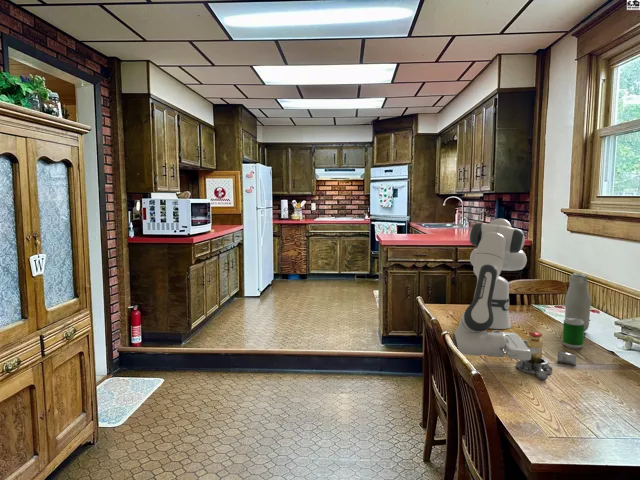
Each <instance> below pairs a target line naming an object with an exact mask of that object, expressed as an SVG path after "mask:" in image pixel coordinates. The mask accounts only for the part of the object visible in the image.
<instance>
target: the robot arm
mask: <svg viewBox="0 0 640 480" xmlns="http://www.w3.org/2000/svg"><path fill="white" fill-rule="evenodd" d="M470 228H471V229H470V230H469V234H468V239H469V243H470V244H471V245H472V246H474V247H476V248H474V249H473V250H472V251H471V253H470V256H469V262H470V264H471V266H473V268H472V269H473V271H472V272H473V274H474V275H475V276H476V279H477V281H476V287H475V291H474V295H473V299H472V302H471V303H470V304H469V305H468V306H467V308H466V309H465V310H464V312H463V313H462V315H461V317H460V321H459V324H458V326H457V328H456V329H455V331H454V332H453V333H452V343H453V346H454V345H455V346H456V347H457V349H458V350H459V351H460V352H461V353H462V354H461V353H460V354H461V355H465V356H466V355H467V356H477V357H478V356H487V357H493V358H503V357H505V356H506V357H507V358H509V359H511V360H518V361H520V360H531V354H534V353H540V352H541V349H540V348H539V347H534V348H530V347H527V341H528V339H522V338H521V337H520V336H519V334H517V333H514V332H508V331H499V330H506V329H510V328H512V324H511V321H510V320H511V319H510V314H509V311H510V310H509V309H510V296H509V295H510V293H509V291H510V285H509V282H508V280H507V279H505V278H504V277H502V276H500V275H501V273H502V271H509V272H511V271H520V270H523V269H524V268H525V267H526V265H527V262H528V259H527V256H526V255H527V254H526V253H525V251H523V248H524V246H525V242H526V238H525V232H523V230H522V229H519V228H516V227H515V228H514V227H512V225H511V223H510V221H508V219H505V218H501V217H500V218H495V219H494V220H491V222H490V223H483V222H478V223H475V224H473V225H472V227H470ZM489 329H494V330H492V331H491V332H488V331H487V330H489Z"/></svg>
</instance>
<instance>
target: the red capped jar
mask: <svg viewBox="0 0 640 480" xmlns="http://www.w3.org/2000/svg"><path fill="white" fill-rule="evenodd" d="M528 335H529V336H530V337H528V338H527V347H530V348H534V347H539V348H540V349H541V352H540V353H534V354H531V360H527V361H528V362H531V363H540V364H541V363H542V358H543V342H544V341H543V340H542V339H541V337H542V336H543V334H542V332H539V331H529V332H528Z"/></svg>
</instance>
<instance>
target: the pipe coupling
mask: <svg viewBox="0 0 640 480" xmlns="http://www.w3.org/2000/svg"><path fill="white" fill-rule="evenodd" d="M557 362H558V363H562V364H567V365H573V366H576V365H577V354H574V353H568V352H563V351H558V352H557Z"/></svg>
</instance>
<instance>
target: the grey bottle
mask: <svg viewBox="0 0 640 480" xmlns="http://www.w3.org/2000/svg"><path fill="white" fill-rule="evenodd" d="M568 285H569V286H568V289H567V292H566V295H565V298H564V300H565V302H564V304H565V305H564V307H565V308H564V309H565V310H564V319H566V318H567V317H576V318H580V319H582V321H583V322H584V332H586V331H587V330H588V329H589V327H590V319H591V318H590V314H591V302H592V301H591V295H590V291H589V287H588V276H587V274H584V273H582V272H581V273H579V272H574V273H572V274H570V277H569V284H568Z"/></svg>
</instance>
